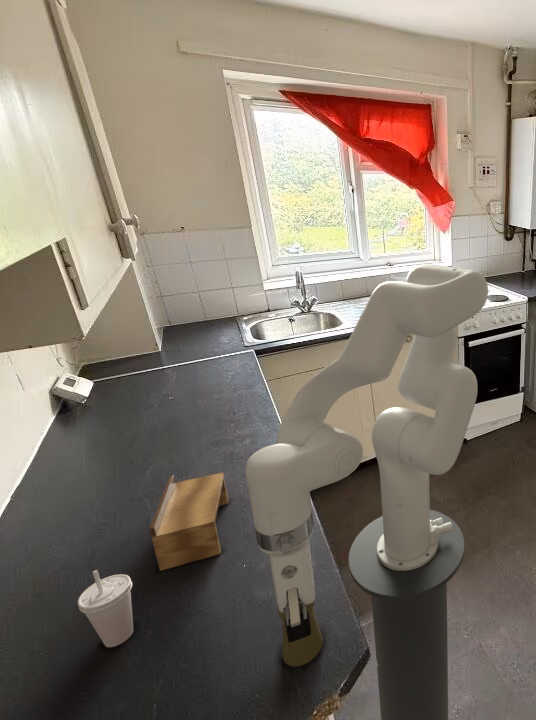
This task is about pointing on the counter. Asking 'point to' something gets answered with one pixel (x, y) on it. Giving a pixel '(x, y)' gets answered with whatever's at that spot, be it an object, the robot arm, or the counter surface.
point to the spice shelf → (188, 520)
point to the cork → (302, 641)
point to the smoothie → (109, 608)
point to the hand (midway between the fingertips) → (298, 619)
